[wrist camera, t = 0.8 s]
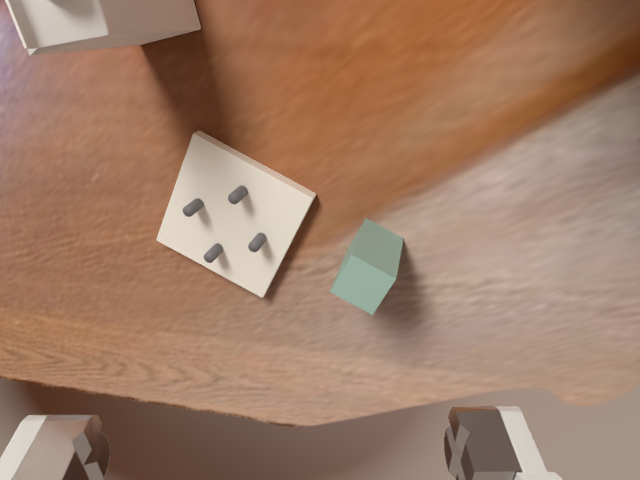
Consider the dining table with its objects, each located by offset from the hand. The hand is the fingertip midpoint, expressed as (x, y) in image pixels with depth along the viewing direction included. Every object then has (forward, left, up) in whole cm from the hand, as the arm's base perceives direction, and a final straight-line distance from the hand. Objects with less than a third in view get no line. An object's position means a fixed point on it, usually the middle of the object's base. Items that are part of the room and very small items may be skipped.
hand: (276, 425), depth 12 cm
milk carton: (+1, -26, -40) cm, 48 cm away
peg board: (+18, -11, -40) cm, 45 cm away
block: (+13, +4, -40) cm, 42 cm away
